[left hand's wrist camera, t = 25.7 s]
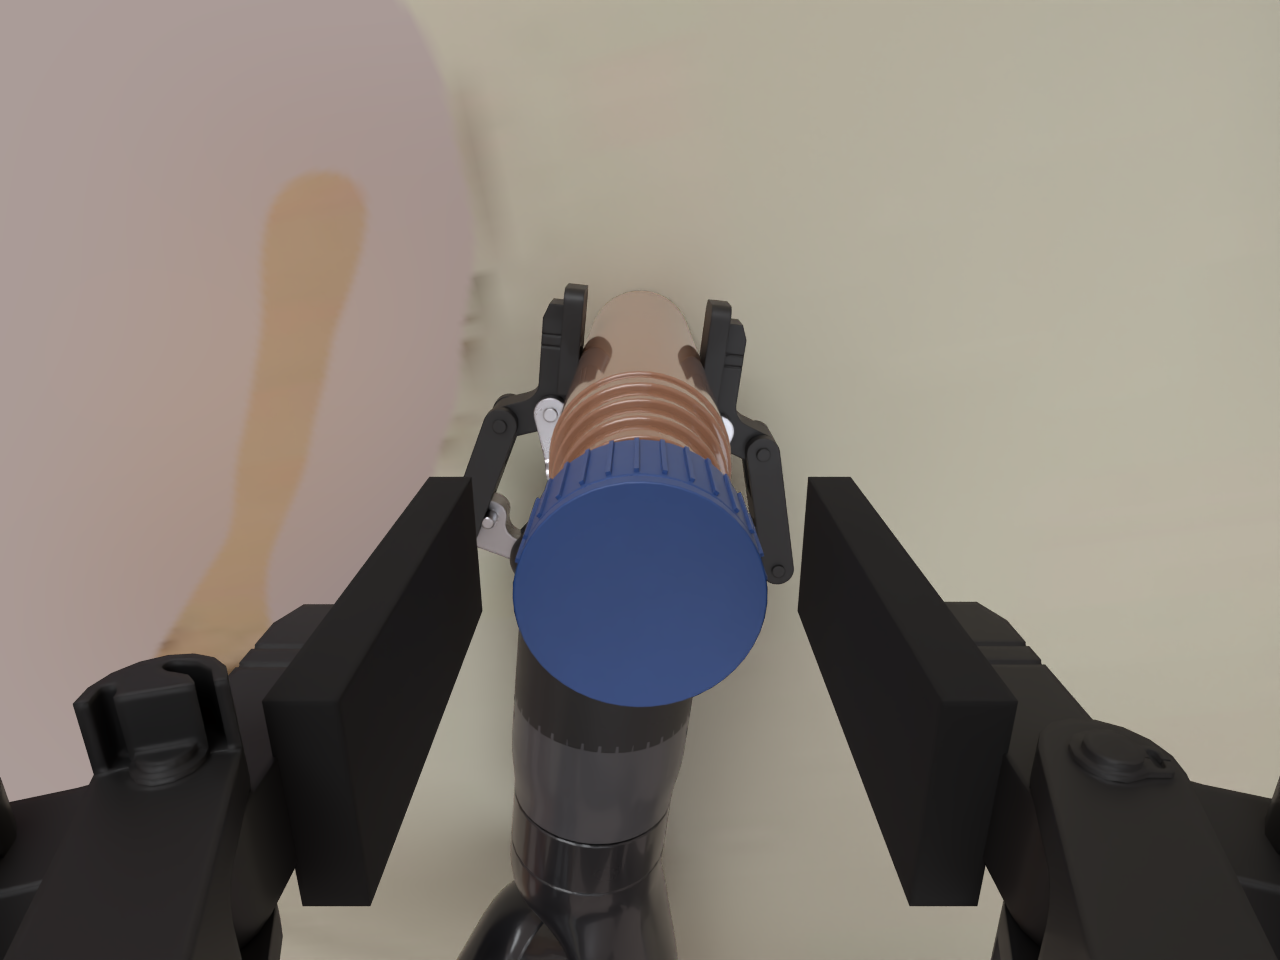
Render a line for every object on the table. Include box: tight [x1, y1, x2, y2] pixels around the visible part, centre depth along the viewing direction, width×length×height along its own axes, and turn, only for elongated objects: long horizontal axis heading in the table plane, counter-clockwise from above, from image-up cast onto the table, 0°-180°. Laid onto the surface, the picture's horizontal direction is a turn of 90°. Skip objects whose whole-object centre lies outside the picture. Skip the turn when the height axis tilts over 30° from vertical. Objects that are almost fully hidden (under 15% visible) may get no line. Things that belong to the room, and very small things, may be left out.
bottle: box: [549, 291, 732, 481], centre depth 24 cm, size 4×4×23 cm
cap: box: [513, 437, 767, 707], centre depth 13 cm, size 4×4×2 cm
